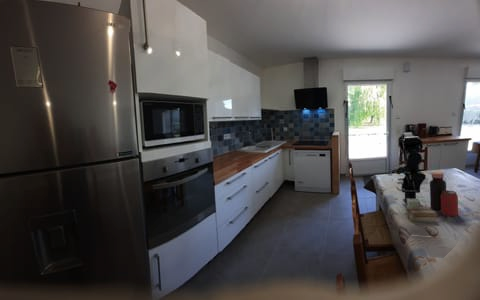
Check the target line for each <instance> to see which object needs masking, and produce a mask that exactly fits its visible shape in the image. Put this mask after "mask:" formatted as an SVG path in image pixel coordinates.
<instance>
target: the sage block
mask: <svg viewBox="0 0 480 300" xmlns="http://www.w3.org/2000/svg"><path fill="white" fill-rule="evenodd" d="M406 206H421V200H420V199H419V198H416V199H407V203H406Z"/></svg>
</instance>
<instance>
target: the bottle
mask: <svg viewBox="0 0 480 300" xmlns="http://www.w3.org/2000/svg"><path fill="white" fill-rule="evenodd" d="M444 176H445V175H444V172H440V171H434V172H431V180H430V181H429V197H430V200H429V201H430V209H432V210H433V211H438V212H439V211H440V212H441V193H442V191H446V190H447V182H446V181H445V180H444Z"/></svg>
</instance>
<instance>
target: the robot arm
mask: <svg viewBox="0 0 480 300" xmlns="http://www.w3.org/2000/svg"><path fill="white" fill-rule="evenodd" d="M397 145H398V147H399V151H400V153H402V154H403V163H402V164H400V165H397V166H394V167H393V170H394V172H395V174H397V175H401V174H402V175H404V177H403V179H402V182H401V187H400V190H401V193H404V198H403V199H402V201H403V202H404V203H405V204H407V199H417V193H418V194H420V192H421V185H422V184H423V182H424V181H425V180H426V179H427V177H426V176H427V175H426V174H424V172H421V171H422V170H421V169H420V165H421V162H422V159H423V156H422V154H421V153H420V151H422V150H423V148H424V144H423V140H422V138H420V137H419V136H418V135H417V136H416V135H414V134H413V132H411V131H410V132H402V133H401V136H399V137H398V140H397Z"/></svg>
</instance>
